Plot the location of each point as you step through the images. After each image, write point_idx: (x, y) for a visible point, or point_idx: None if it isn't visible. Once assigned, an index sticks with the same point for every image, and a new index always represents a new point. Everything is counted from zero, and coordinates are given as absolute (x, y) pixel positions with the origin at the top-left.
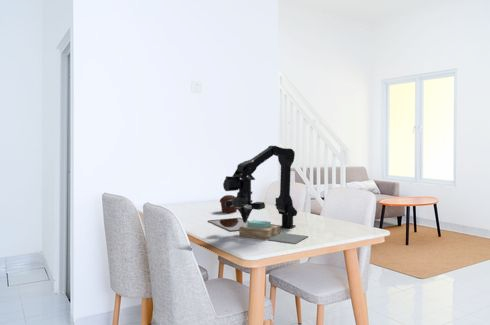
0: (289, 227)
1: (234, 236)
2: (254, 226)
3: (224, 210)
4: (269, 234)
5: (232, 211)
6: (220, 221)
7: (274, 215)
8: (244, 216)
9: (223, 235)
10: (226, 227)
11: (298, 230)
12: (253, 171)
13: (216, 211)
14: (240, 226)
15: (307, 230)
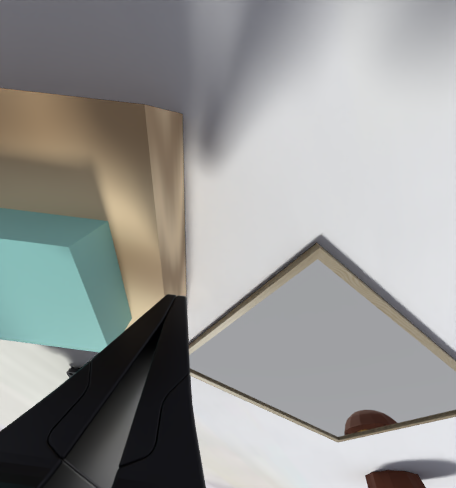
0: (72, 372)
1: (219, 75)
2: (7, 212)
3: (414, 484)
4: None
5: (380, 478)
6: (422, 401)
7: (233, 458)
8: (129, 360)
9: (354, 63)
10: (370, 318)
11: (27, 354)
12: None
13: (442, 478)
14: (287, 351)
15: (4, 360)
